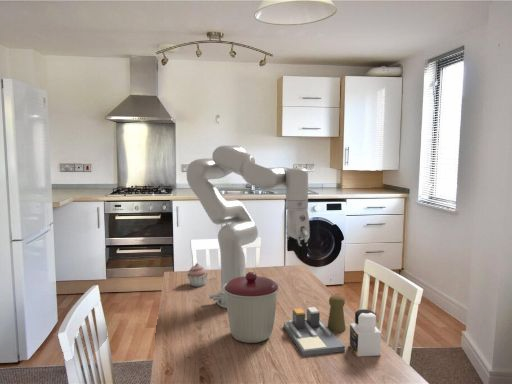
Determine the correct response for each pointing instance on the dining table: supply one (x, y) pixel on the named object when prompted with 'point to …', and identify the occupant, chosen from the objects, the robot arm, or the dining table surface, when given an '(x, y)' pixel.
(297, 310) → the block
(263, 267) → the dining table surface
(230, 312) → the canister
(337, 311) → the cork
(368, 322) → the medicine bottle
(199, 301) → the dining table surface
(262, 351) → the dining table surface
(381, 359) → the dining table surface
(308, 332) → the panel
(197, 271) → the cupcake
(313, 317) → the toggle plain
